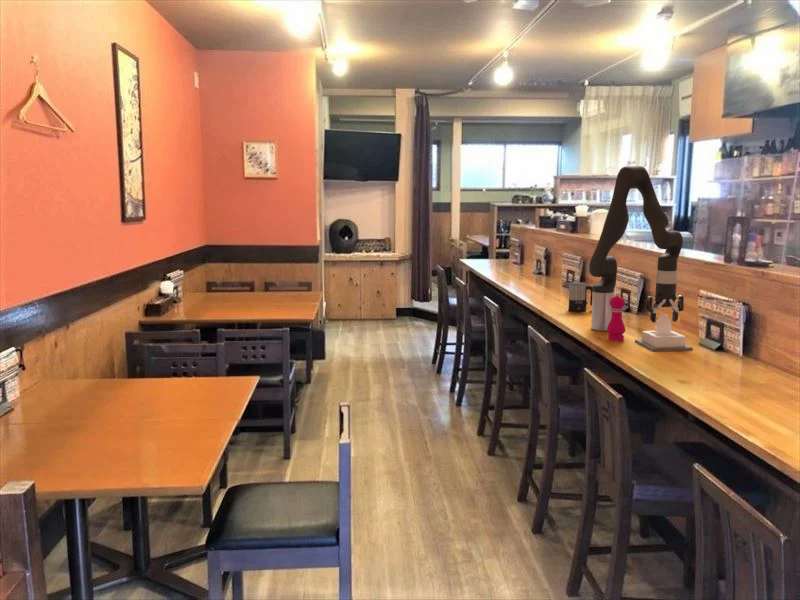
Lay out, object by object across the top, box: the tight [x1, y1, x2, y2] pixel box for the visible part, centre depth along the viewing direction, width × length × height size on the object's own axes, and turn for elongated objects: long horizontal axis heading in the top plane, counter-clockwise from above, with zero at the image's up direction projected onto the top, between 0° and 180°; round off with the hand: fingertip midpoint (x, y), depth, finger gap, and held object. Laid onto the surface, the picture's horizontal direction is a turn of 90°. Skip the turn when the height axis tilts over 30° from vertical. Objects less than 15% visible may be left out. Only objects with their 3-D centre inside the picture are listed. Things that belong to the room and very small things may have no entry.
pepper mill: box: [606, 292, 626, 342], centre depth 258 cm, size 7×7×20 cm
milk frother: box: [567, 281, 593, 313], centre depth 329 cm, size 14×16×15 cm
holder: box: [634, 329, 694, 352], centre depth 247 cm, size 16×16×5 cm
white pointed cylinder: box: [654, 313, 672, 336], centre depth 247 cm, size 6×12×6 cm
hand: (663, 321), depth 246 cm, fingers open, 8 cm apart
